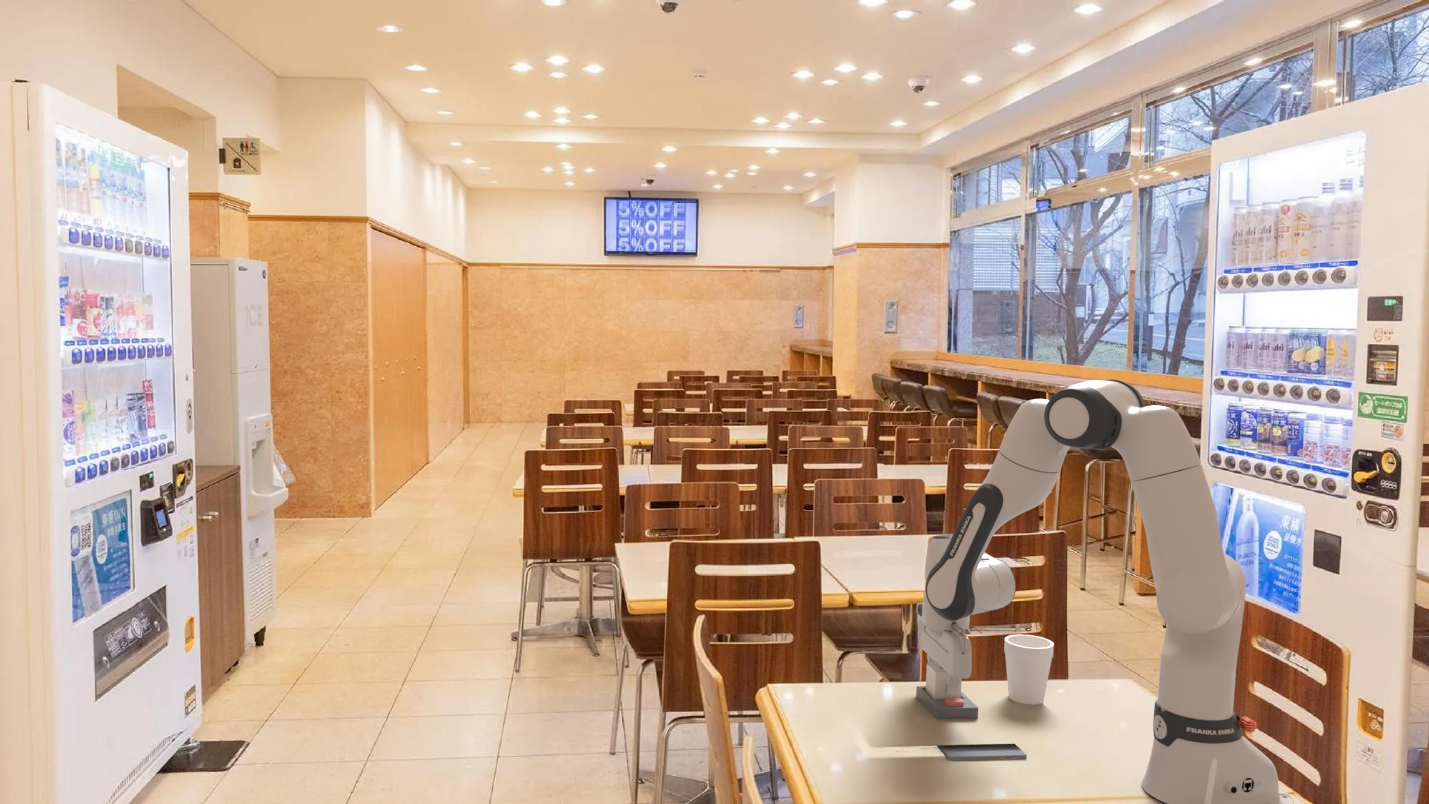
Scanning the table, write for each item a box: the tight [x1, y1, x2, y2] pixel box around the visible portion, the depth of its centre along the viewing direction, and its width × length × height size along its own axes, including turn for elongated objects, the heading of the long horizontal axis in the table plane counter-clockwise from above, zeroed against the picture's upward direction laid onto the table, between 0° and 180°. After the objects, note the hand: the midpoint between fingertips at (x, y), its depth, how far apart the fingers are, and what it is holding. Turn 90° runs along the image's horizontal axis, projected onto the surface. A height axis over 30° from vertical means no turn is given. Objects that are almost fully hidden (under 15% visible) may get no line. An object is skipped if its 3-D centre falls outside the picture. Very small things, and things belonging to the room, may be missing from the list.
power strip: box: [915, 685, 979, 720], centre depth 200 cm, size 8×12×4 cm, turn 7°
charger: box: [925, 663, 962, 699], centre depth 202 cm, size 5×5×7 cm
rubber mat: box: [935, 743, 1028, 761], centre depth 185 cm, size 14×12×1 cm
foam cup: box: [1003, 634, 1055, 705], centre depth 206 cm, size 10×9×13 cm
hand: (942, 685), depth 202 cm, fingers open, 8 cm apart
